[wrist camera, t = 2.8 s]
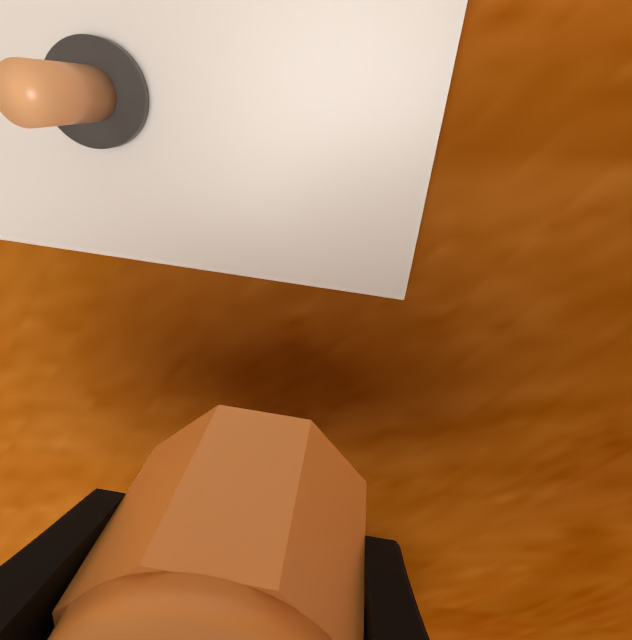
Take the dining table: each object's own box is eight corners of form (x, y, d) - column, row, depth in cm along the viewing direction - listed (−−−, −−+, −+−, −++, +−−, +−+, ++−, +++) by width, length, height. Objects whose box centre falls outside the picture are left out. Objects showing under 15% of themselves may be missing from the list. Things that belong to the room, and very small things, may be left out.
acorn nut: (380, 429, 10) (386, 768, 5) (345, 587, 13) (325, 943, 7) (152, 391, 11) (-64, 680, 5) (155, 552, 13) (1, 875, 7)
